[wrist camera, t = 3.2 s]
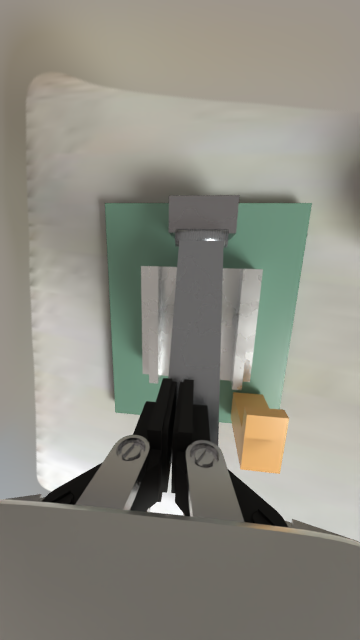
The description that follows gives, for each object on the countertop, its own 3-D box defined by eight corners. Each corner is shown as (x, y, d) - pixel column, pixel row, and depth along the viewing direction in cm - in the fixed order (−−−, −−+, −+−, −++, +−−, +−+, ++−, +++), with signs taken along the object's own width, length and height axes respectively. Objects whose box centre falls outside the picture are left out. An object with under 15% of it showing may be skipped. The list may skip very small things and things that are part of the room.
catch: (265, 376, 22) (289, 418, 16) (259, 419, 23) (279, 473, 17) (234, 374, 22) (246, 414, 16) (230, 417, 23) (240, 469, 17)
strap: (177, 235, 16) (175, 224, 15) (226, 236, 16) (228, 225, 14) (159, 454, 13) (155, 462, 11) (221, 460, 12) (223, 470, 11)
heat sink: (261, 209, 18) (277, 193, 15) (244, 369, 22) (253, 391, 18) (147, 209, 19) (134, 194, 15) (148, 362, 23) (137, 381, 19)
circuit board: (303, 208, 19) (311, 203, 18) (272, 418, 25) (276, 427, 23) (111, 207, 21) (104, 203, 20) (120, 404, 26) (115, 412, 25)
